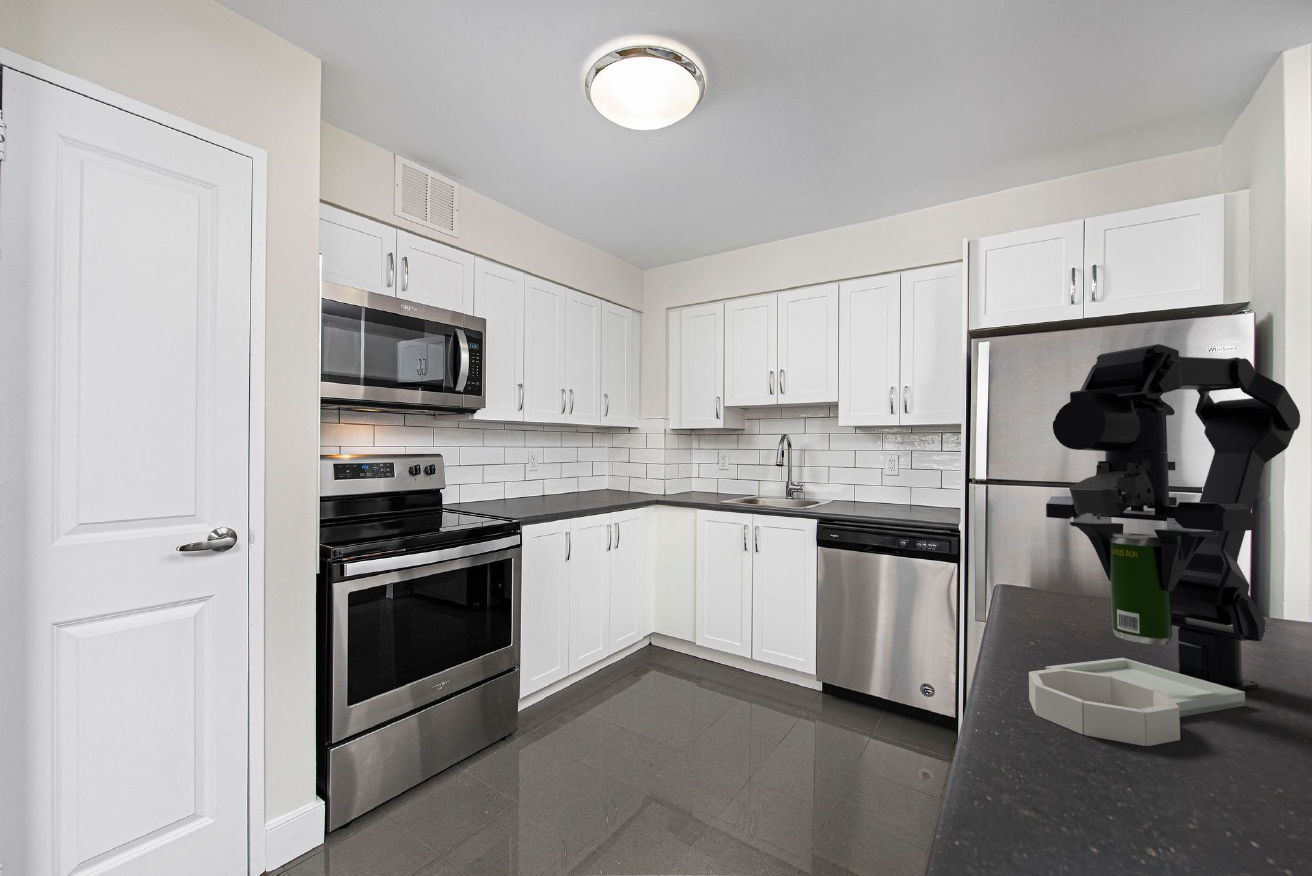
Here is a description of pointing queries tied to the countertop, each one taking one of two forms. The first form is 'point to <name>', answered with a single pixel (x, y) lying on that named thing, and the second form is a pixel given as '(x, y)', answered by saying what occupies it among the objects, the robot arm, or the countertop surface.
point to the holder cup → (1104, 706)
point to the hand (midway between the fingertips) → (1139, 586)
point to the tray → (1167, 684)
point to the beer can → (1139, 589)
